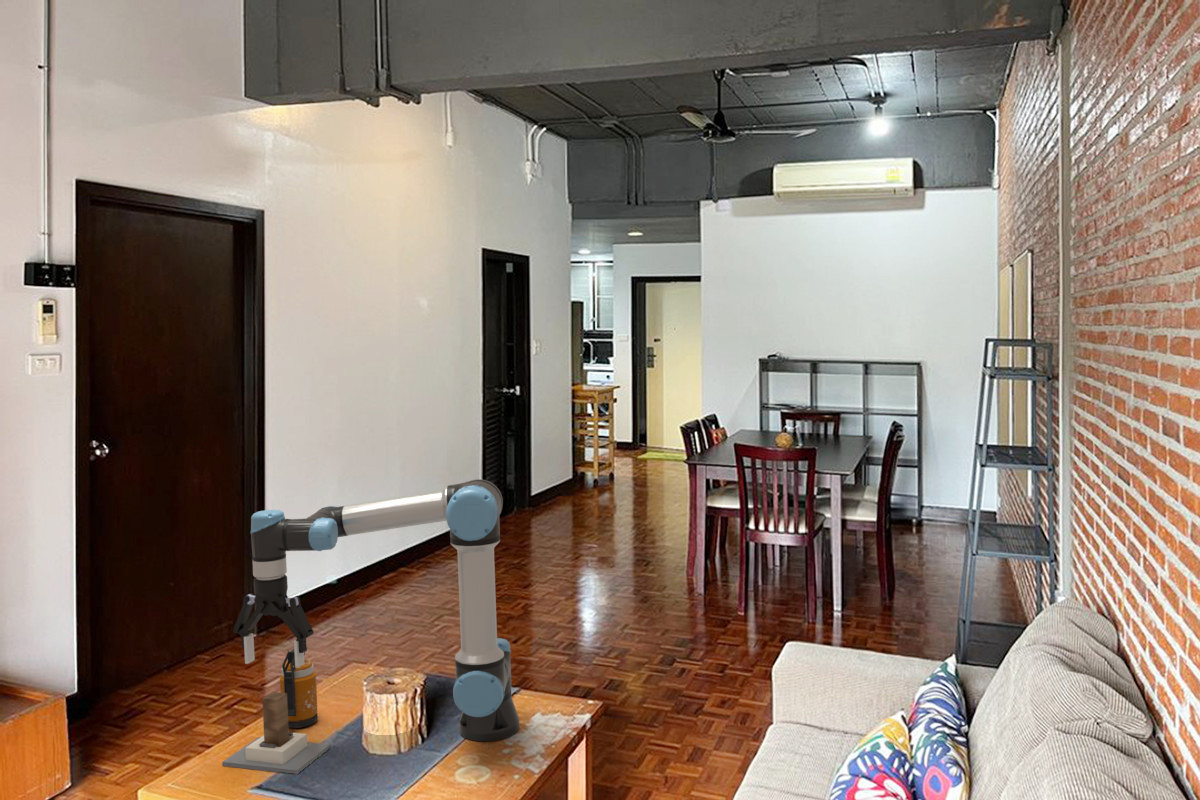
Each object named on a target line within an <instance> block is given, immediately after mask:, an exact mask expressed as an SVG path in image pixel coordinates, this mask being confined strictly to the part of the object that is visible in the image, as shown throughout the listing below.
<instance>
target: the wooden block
mask: <svg viewBox="0 0 1200 800" xmlns="http://www.w3.org/2000/svg"><path fill="white" fill-rule="evenodd" d="M261 701H262V719H263V720H262V721H263V735H264V743H268V744H276V747H281V746H283V745H284V744H286V743H287V742H288V741H289V732H290V731H289V728H290V727H288V704H287V693H280V692H274V691H272V692H270V693H269V694H267V695H265V696H263V698H261Z"/></svg>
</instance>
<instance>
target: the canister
mask: <svg viewBox="0 0 1200 800" xmlns="http://www.w3.org/2000/svg"><path fill="white" fill-rule="evenodd" d="M307 651H308V648H307V649H306V651H305V652H304V656H306V652H307ZM304 663H305V664H303V665H302V666H300V667H298V668H295V652H294V648H293V649H292V650H290V651H287V653H286V655H285V658H284V660H283V661H282V665H281V675H280V677H279V689H280V690H279V691H280V692H279V693H287V704H288V727H289V728H292V729H298V728H299V729H300V728H304V727H305V728H306V727H308V726H310V725H312V724H314V723H316V721H318V720H319V719H318V718H319V717H318V715H319V713H318V695H317V694H318V690H317V672H316V671H315V670H314V663H313V662H312V660H310V659H307V658H304Z"/></svg>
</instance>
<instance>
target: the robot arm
mask: <svg viewBox="0 0 1200 800" xmlns="http://www.w3.org/2000/svg"><path fill="white" fill-rule="evenodd" d="M503 499H504V498H503V496H502V493H501V491H500V489H499V488H498V487H497V486H496V485H495V484H494V483H493V482H491V481H489V480H487V479H486V480H485V479H478V478H476V479H472V480H468V481H465V482H460V483H457V484H456V483H455V484H450V485H449V484H448V485H446V487H444V489H443V490H439V491H431V492H424V493H418V494H411V495H406V496H400V497H393V498H386V499H379V500H374V501H366V502H360V503H359V502H358V503H353V504H348V505H347V504H346V505H342V506H336V505H327V506H325V507H321V508H320V509H318V510H317V511H316V512H315V513H313V514H311V515H310V516H308V517H305V518H286V516H285V513H284V511H283V510H280V509H265V510H260V511H256V512H254V513H253V514H252V515H251V517H250V537H251V538H250V539H251V550H252V551H251V552H252V575H253V577H254V578H253V593H249V594H247V595H245V596H243V597H242V598H243V600H242V601H243V602H242V607H241V609H240V612H239V614H238V617H237V619H236V622H235V624H234V627H233V629H232V632H233V633H234V634H239V636H240V639H241V641H240V642H241V648H242V650H244V664H246V665H249V664H250V663H252V662H254V661H255V659H256V658H255V657H256V655H255V640H254V639H255V638H254V633H251V632H252V631H253V629H254V627H255V626H256V625H257V623H258V622H259V621H260V620H261V618H262V616H265V617H267V616H271V617H272V616H273V617H276V616H277V617H278V618H279V619H281V620H282V622H284V624H285V625H286V627H288V629H289V630H290V632H291V633H292V634H293V636H295V638H296V639H294V640H293V649H294V652H295V668H298V667H300V666H302V665H303V664H305V663H304V659H305V655H304V652H305V651H306V649H307V650H308V647H307V638H309V637H311V636H313V635H314V630H313V628H312V626H311V623H310V621H309V620H308V617H307V615H306V613H305V611H304V608H303V606H302V605H301V598H300V596H299V595H296V596H294V597H289V596H288V595H287V594H288V576H287V575H286V574H287V572H288V570H287V569H288V568H287V552H299V551H300V552H301V551H302V552H303V551H304V552H305V551H307V552H309V551H311V552H312V551H316V552H321V551H327V550H328V551H330V550H332V549H333V550H334V548H335V547H336V546H337V543H338V539H339V538H343V537H348V536H354V535H359V534H367V533H372V532H373V533H374V532H380V531H385V530H386V531H387V530H393V529H400V528H406V527H413V526H421V525H427V524H434V523H439V522H440V523H441V522H446V523H447V526H448V528H449V537H450V545H451V546H452V547H453V548H454V549H455V550H456V551H457V573H458V574H457V575H458V576H457V577H458V597H459V598H458V599H459V600H458V601H459V604H458V605H459V627H460V628H459V629H460V650H459V651H457V653H455V656H454V665H455V666H454V667H455V669H454V670H455V682H454V684H453V688H452V695H453V701H454V704H455V705H456V707H457V709H458V710H460V711H461V715H460V719H459V722H458V723H459V724H458V726H459V727H458V728H459V734H460V735H461V736H462V737H463V738H465V739H467V740H470V741H475V742H495V741H501V740H504V739H507V738H509V737H512V736H514V735H515V734H516V733H517V732H518V731H519V729H520V717H519V715H518V712H517V709H516V706H515V703H514V701H513V697H512V695H513V694H512V669H511V667H512V666H511V653H512V650H511V644H510V641H508V639H505V638H500V637H498V630H497V629H498V627H497V622H498V621H497V602H496V601H497V599H496V569H495V566H496V565H495V547H496V546H497V545H498V544H500V542H501V533H500V532H501V531H500V529H501V528H500V527H501V525H500V515H501V514H502V511H503V506H504V505H503V504H504V501H503ZM254 594H255V595H254ZM254 604H255V605H256V606H257V608H256V609H255V610H254V611H253V613H252V616H251V617H250V618H249V616H250V614H251V611H252V609H253V606H254ZM289 607H290V608H289ZM306 652H307V651H306ZM306 652H305V653H306Z"/></svg>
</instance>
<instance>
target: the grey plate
mask: <svg viewBox="0 0 1200 800" xmlns="http://www.w3.org/2000/svg"><path fill="white" fill-rule="evenodd" d="M329 748H330V749H331V744H328V743H322V742H321V743H318V742H310V741H308V734H307V733H302V732H301V733H300V732H292V731H291V732H290V731H289V741H288V742H287V743H286V744H284V745H283V746H281V747H276V744H268V743H264V734H263V735H262V736H258V737H256V738H255V739H253V740H252V741H250V742H249V743H248V744H246V745H245V746H243V747H242V748H240V749H238V750H237V751H236V752H235V753H233V754H231V755H229V757H227V758H225V759H224V760H223V761H222V763H221V764H222V767H228V768H229V767H230V768H237V769H248V770H253V771H254V770H255V771H265V772H272V773H273V772H274V773H279V772H287V773H286V774H288V773H295V774H294V775H296V774H298V773H299V772H300V771H301V772H302V770H303V769H304V768H305V767H306V768H308V767H309V766H310V765H312V762H313V761H314V760H315V759H316V760H318V759H319V758H320V757H322V756H323V755H324V754H325V753H326V752H327V751H326V750H328V749H329ZM330 749H329V750H330ZM329 750H328V751H329ZM324 752H325V753H324ZM323 753H324V754H323ZM322 754H323V755H322ZM318 757H319V758H318ZM317 758H318V759H317ZM316 760H315V761H316ZM315 761H314V762H315ZM314 762H313V763H314ZM309 764H310V765H309ZM308 765H309V766H308ZM307 766H308V767H307ZM306 768H305V769H306ZM305 769H304V770H305ZM304 770H303V771H304ZM301 772H300V773H301ZM300 773H299V774H300ZM299 774H298V775H299Z"/></svg>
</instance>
